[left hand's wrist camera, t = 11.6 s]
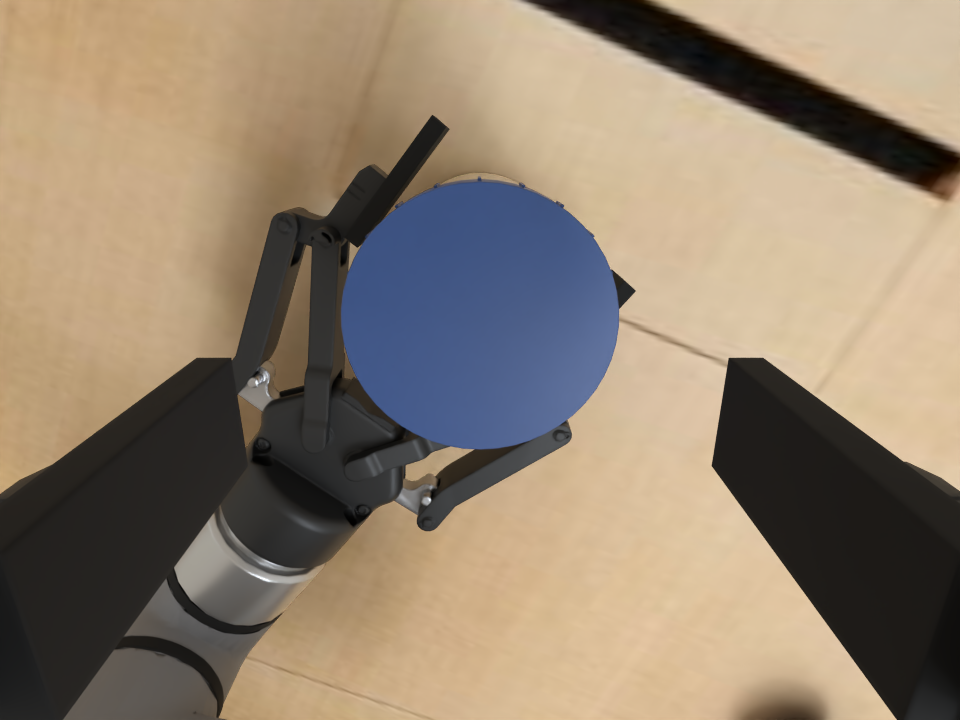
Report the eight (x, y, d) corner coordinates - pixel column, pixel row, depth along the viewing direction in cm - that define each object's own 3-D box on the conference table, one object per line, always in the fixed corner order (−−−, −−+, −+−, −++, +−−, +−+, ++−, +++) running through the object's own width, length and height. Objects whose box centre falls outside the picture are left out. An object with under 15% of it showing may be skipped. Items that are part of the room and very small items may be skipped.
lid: (338, 176, 20) (325, 179, 18) (620, 175, 20) (633, 178, 18) (359, 428, 23) (350, 451, 21) (600, 427, 23) (610, 450, 21)
